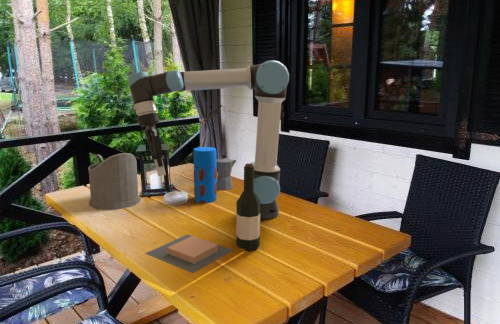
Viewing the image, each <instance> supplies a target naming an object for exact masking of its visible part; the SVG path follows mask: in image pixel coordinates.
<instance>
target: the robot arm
mask: <svg viewBox="0 0 500 324" xmlns="http://www.w3.org/2000/svg"><path fill="white" fill-rule="evenodd" d="M127 82H128V88H129V91H130V94H131V98H132V102H133V106H134V107H133V110H134V111H135V114H136V116H137V122H138V126H139V127H144V128H145V130H144V134H145V135H144V137H145V140H146V141H147V145H148V148H149V151H150V155H151V158H152V159H153V161H154V164H155V169H156V172H157V175H158V176H157V177H162V176H166V175H167V173H166V169H165V164H164V160H163V156H164V153H163V149H162V145H161V137H160V130H158V128H157V127H156V124H159V122H160V120H159V116H158V113H157V111H158V109H157V106H156V102H155V99H154V98H155V97H156V96H161V95H164V94H169V93H173V92H174V93H175V92H176V93H177V92H185V91H203V90H218V89H219V90H220V89H221V90H224V89H240V88H241V89H242V88H248V89H249V90H252V91H253V90H255V92H254V93H255V94H254V97H255V99H256V100H257V101H258V107H257V108H258V109H257V124H256V139H255V153H254V154H255V155H254V157H255V158H254V161H252V162H250V163H249V164H253V166H254V192H255V193H256V195H257V197H258V198H259V200H260V220H270V219H274V218H275V219H276V217H278V216H279V213H280V210H279V209H280V208H279V205H278V202H277V199H278V197H279V195H280V193H281V185H280V176H281V168H280V167H279V165H278V163H277V162H278V152H279V139H280V125H281V113H282V112H281V111H282V103H283V102H284V101H285V100H286V98H287V89H288V88H287V87H288V84H289V82H290V73H289V70H288V68H287V67H286V65H284V63H282V61H281V62H280V61H278V60H275V59H273V60H272V59H271V60H266V61H264V62H262V63H259V64H251V65H248V66H247V67H245V68H243V67H242V68H240V67H239V68H226V69H225V68H224V69H210V70H209V69H208V70H193V71H179V70H178V69H174V70H168V71H165V72H159V73H157V74H153V75H148V72H146V71H137V72H133V73H130V74H129V75H128V77H127Z"/></svg>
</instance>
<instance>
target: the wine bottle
mask: <svg viewBox="0 0 500 324" xmlns="http://www.w3.org/2000/svg"><path fill="white" fill-rule="evenodd" d="M235 219H236V221H235V222H236V224H235V225H236V227H235V229H236V231H235V232H236V233H235V235H236V236H235V239H236V240H235V242H236V243H235V244H236V246H237V247H238V248H239V249H243V250H244V252H253V251H257V250H258V249H259V248H260V244H261V243H260V241H261V239H260V237H261V219H260V200H259V198H258V197H257V195H256V193H255V192H254V166H253V164H250V163H245V165H244V166H243V191H242V192H241V194H240V196H239V197H238V199H237V200H236V218H235Z"/></svg>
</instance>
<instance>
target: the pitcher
mask: <svg viewBox="0 0 500 324" xmlns="http://www.w3.org/2000/svg"><path fill="white" fill-rule="evenodd" d="M98 157H99V159H100V160H101V162H98ZM94 161H95V163H94V164H91V165H89V166H88V177H89V191H90V193H89V194H90V198H89V201H88V207H90V208H92V209H93V210H100V211H116V210H118V211H119V210H124V209H129V208H132V207H134V206H137V205H138V204H139V203H141V201H142V199H141V197H140V195H139V184H138V183H139V181H138V166H137V165H138V163H137V159H136V157H135V156H134V155H133V154H132V153H127V152H123V153H117V154H113V155H111V156H108V157H107V158H106V159H105V160H104V159H103V156H102V155H100V154H99V153H98V154H96V155H95V159H94Z"/></svg>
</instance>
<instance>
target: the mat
mask: <svg viewBox="0 0 500 324" xmlns="http://www.w3.org/2000/svg"><path fill="white" fill-rule="evenodd" d="M191 236H192V235H191V234H185V235H183V236H180V237H178V238H176V239H174V240H172V241H170V242H167V243H165V244H163V245H160V246H159V247H156V248H154V249H151V250H150V251H148V252H145V253H144V254H146V255H148V256H151V257H153V258H155V259H157V260H160V261H161V262H162V261H163V262H165V263H167V264H169V265H173V266H174V267H178V268H180V269H182V270H184V271H186V272H189V273H192V274H195V273H197V271H199V270H201V269H204V268H205V267H207V266H208V265H210V264H212V263H214V262H216V261H217V260H220V259H221V258H222V257H224V256H226V255H228V254H230V253H231V252H233V251H234V249H232V248H229V247H226V246H223V245H221V244H218V252H216V253H214V254H212V255H210V256H209V257H207V258H205V259H203V260H201V261H199V262H197V263H196V264H192V263H189V262H187V261H184V260H182V259H179V258H177V257H174V256H172V255H169V254H168V253H167V247H169V246H172V245H174V244H176V243H178V242H180V241H183V240H185V239H187V238H189V237H191Z"/></svg>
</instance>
